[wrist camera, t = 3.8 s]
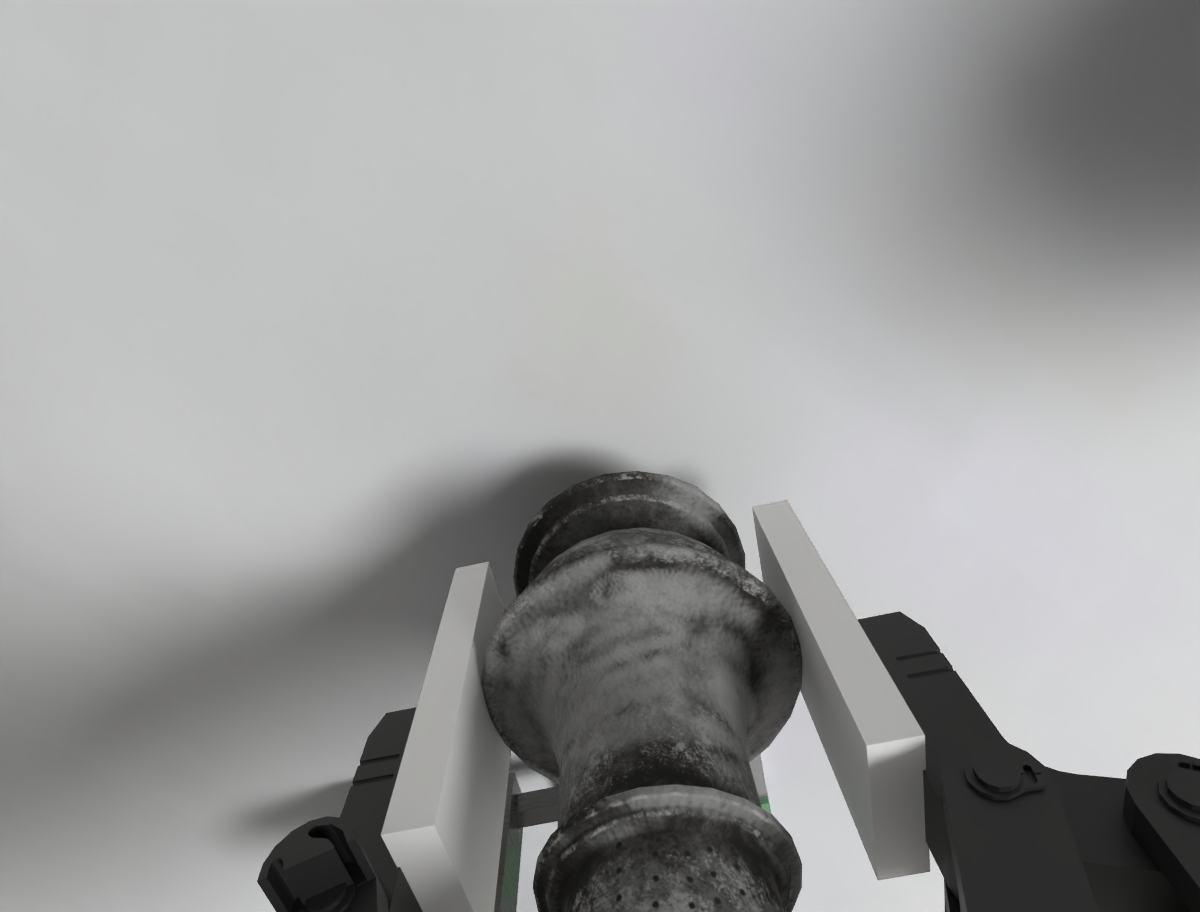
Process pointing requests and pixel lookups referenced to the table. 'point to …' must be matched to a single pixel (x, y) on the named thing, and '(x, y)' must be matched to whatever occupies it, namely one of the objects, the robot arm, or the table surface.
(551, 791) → the plunger
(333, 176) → the table surface
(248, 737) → the table surface
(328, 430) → the table surface
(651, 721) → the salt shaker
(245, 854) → the table surface
